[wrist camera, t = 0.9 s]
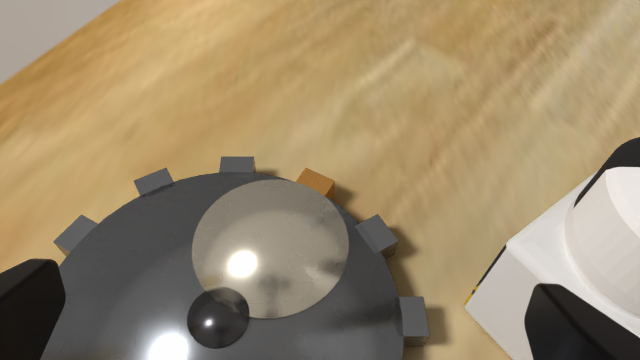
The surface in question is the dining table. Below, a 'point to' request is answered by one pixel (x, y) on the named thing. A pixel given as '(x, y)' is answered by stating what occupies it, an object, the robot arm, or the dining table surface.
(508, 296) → the medicine bottle
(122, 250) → the sprocket plate
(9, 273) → the robot arm
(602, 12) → the dining table surface
